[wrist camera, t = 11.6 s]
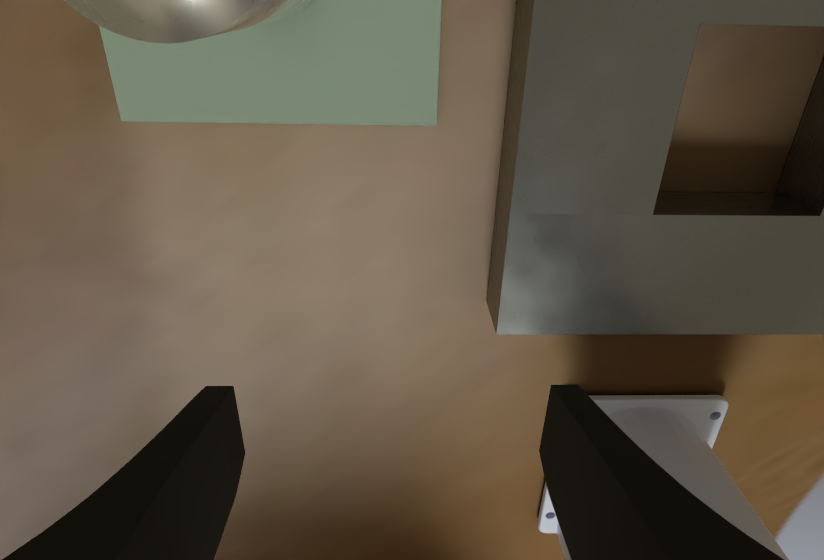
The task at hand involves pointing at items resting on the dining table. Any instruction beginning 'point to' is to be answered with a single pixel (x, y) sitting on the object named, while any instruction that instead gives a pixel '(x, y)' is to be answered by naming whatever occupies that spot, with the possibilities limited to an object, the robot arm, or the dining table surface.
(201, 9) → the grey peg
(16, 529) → the dining table surface
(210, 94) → the mat
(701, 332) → the socket block
